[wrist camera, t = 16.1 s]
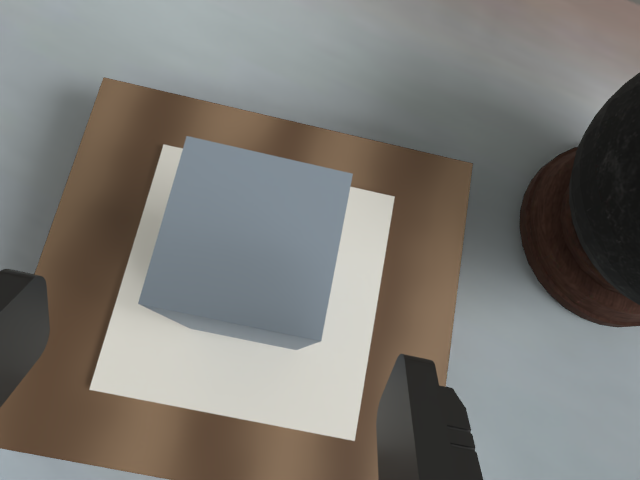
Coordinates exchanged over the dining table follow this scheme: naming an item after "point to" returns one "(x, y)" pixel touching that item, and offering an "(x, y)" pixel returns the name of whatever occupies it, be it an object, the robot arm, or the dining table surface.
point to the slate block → (248, 245)
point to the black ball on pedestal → (591, 217)
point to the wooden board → (218, 350)
